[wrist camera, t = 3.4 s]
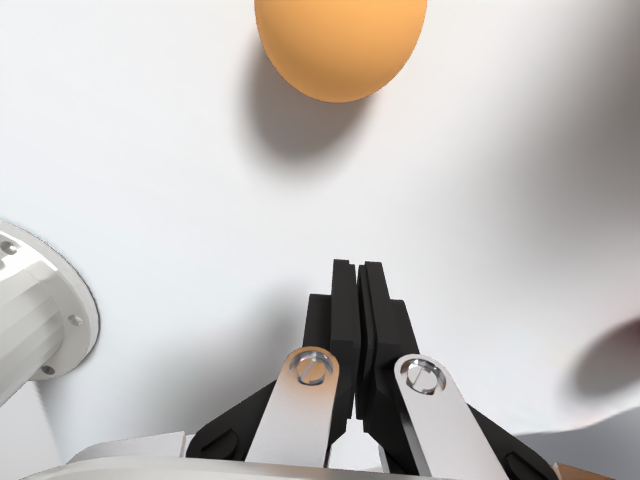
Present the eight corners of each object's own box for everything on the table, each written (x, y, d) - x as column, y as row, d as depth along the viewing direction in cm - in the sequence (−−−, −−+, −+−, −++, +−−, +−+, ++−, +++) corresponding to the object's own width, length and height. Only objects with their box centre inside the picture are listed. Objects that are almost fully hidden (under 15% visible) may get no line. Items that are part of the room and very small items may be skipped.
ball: (345, 126, 16) (356, 145, 10) (243, 41, 14) (194, 12, 9) (433, 11, 14) (503, -40, 8) (325, -103, 12) (324, -254, 7)
